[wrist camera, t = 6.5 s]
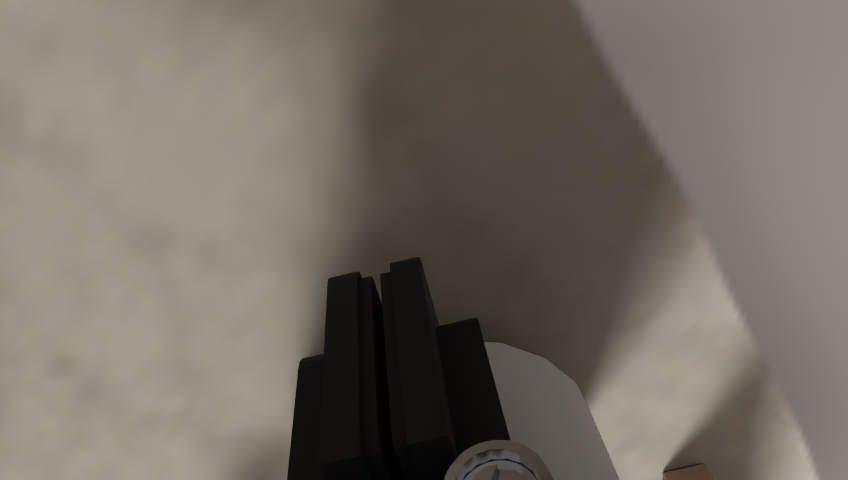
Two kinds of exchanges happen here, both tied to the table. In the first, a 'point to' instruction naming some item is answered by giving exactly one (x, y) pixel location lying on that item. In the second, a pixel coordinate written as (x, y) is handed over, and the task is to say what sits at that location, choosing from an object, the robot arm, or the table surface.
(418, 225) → the table surface
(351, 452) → the robot arm
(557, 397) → the can
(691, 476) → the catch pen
